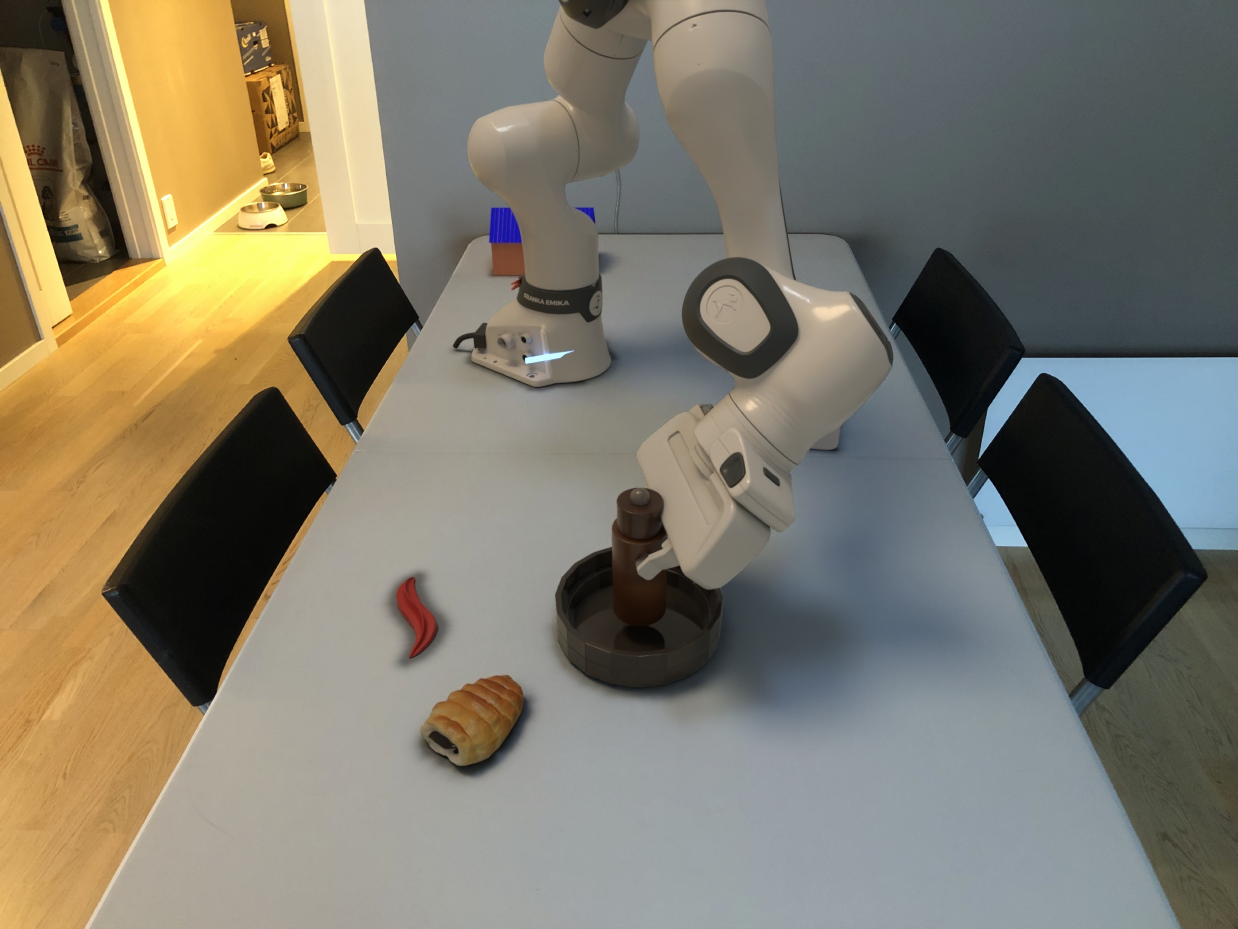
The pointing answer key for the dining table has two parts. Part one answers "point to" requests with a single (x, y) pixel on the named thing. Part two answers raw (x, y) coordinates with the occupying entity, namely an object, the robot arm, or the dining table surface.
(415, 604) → the cayenne pepper
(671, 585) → the pan
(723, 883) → the dining table surface
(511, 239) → the house
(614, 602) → the pepper mill
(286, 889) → the dining table surface
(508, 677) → the pastry
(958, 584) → the dining table surface
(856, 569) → the dining table surface
